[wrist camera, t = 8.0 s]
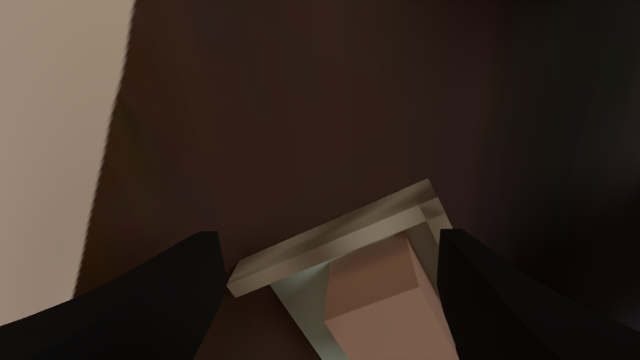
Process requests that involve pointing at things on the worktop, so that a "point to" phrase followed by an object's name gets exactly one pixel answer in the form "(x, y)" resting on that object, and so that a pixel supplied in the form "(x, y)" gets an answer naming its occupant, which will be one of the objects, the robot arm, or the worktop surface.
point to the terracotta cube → (386, 305)
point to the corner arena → (334, 242)
